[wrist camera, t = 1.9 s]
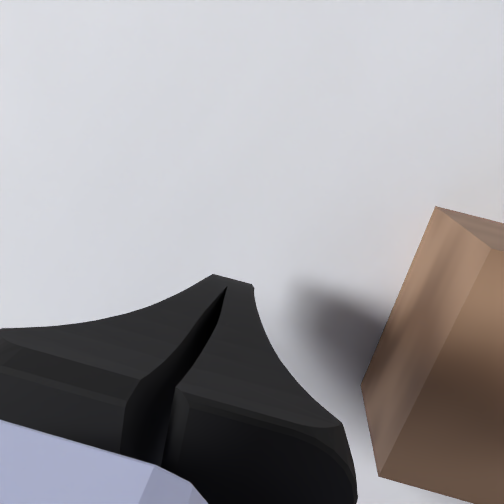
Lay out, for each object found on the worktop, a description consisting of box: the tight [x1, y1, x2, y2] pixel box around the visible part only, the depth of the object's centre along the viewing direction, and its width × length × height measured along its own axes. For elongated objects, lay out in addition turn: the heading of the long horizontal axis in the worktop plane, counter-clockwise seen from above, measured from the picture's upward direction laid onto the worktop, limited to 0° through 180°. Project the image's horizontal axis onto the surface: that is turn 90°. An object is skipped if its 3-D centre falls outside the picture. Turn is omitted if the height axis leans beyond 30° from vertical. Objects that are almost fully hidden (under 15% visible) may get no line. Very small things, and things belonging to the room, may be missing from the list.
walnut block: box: [361, 206, 504, 504], centre depth 13 cm, size 8×5×4 cm, turn 167°
